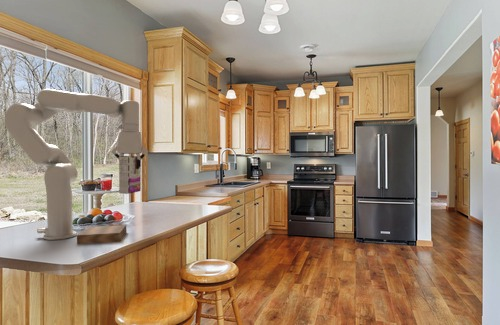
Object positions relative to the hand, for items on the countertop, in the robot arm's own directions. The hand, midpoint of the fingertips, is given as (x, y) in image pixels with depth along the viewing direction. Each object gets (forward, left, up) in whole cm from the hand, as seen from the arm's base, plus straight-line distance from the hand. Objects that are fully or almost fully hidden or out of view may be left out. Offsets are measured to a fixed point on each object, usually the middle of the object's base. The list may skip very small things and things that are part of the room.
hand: (130, 168), depth 149 cm
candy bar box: (0, 0, -11) cm, 11 cm away
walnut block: (-10, -7, -30) cm, 32 cm away
